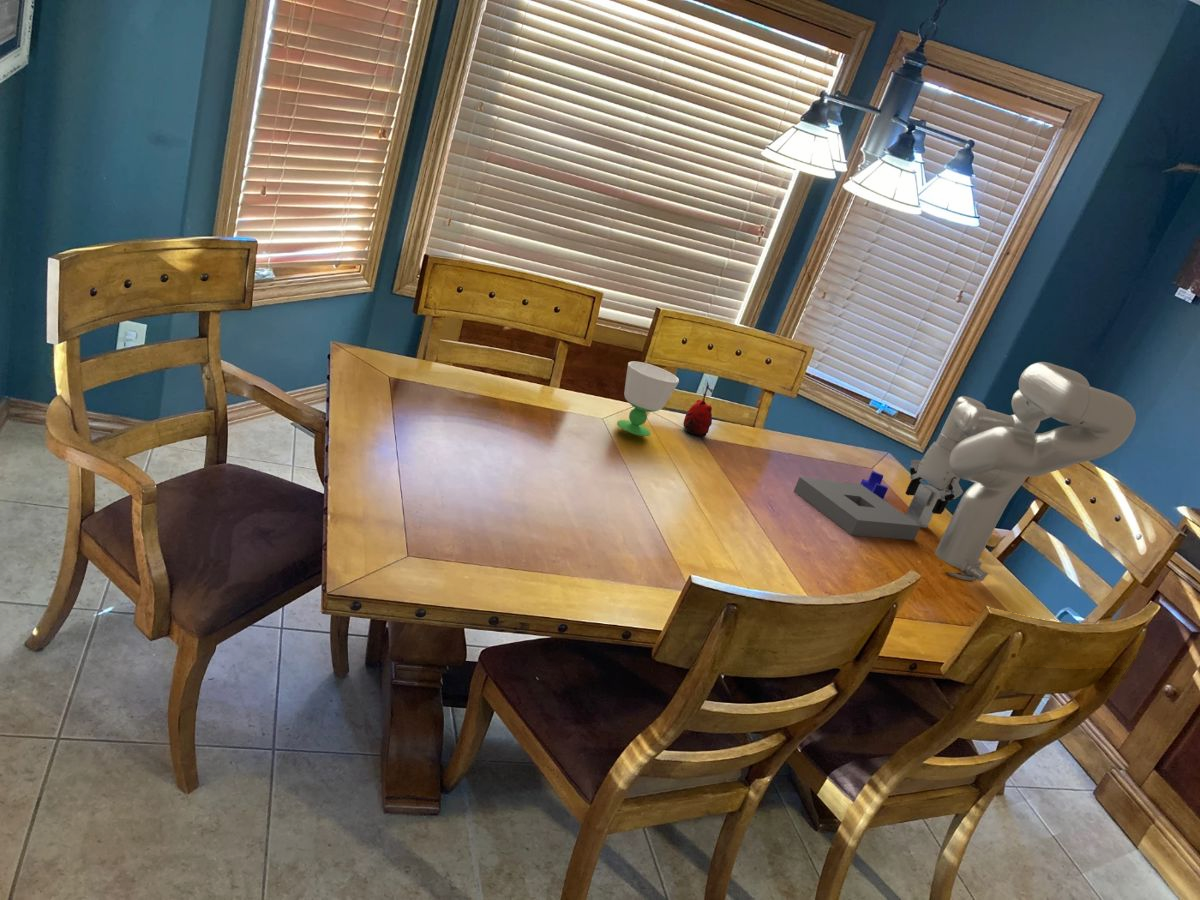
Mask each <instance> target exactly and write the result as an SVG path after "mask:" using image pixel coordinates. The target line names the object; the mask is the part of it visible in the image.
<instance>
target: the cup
mask: <svg viewBox="0 0 1200 900" xmlns="http://www.w3.org/2000/svg"><path fill="white" fill-rule="evenodd" d="M625 376H626V377H625V385H624V393H623V394H624V398H625V400H626V401H627V403H629V405H631V406H632V407H633V408H632V409H631V410H630V412H629V415H628V418H629V420H617V423H616V424H617V425H618V427H619V428H620V429H622V430H624V431H626V432H627V433H629V434H633V435H636V436H641V437H648V436H650V435H651V431H650V430H649V429H648V428H646V427H645V426H644V425H643V424H645V422H646V421H647V419H648V418H647V416H648V415H647V413H648V412H649V413H651V412H655V413H656V412H658V411H660V410H662V409H663V408H665V406H666V404H667V403H668V401H669V399H670V397H671V396H672V395H673V393H674V391H675V390H676V387H677V386H678V384H679V383H680V379H679V377H677V376H676V375H675V374H674V373H671V372H670V371H669V370H666V369H663V368H661V367H659V366H656V365H653V364H650V363H647V362H642V361H634V360H632V361H629V362H627V370H626V375H625Z"/></svg>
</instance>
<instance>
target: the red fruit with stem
mask: <svg viewBox="0 0 1200 900" xmlns="http://www.w3.org/2000/svg"><path fill="white" fill-rule="evenodd" d="M708 390H709V392H710V393H712V394H713V392H714V389H712V388H710V385H709V381H707V383H706V386H705V391H704V393H703V398H702V399H697V400H696V402H695V403H694V404H692V405H691V406H690V408H689V409H688V410H687V412H686V414H685V415H684V419H683V422H682V423H683V428H684V430H685V431H686V432H688V433H689V434H692V433H693V434H692V435H694V434H696V436H698V435H699V436H698V437H706V436H707V434H708V433H709V430H710V427H711V426H712V424H713V417H712V416H713V415H712V410H713V408H712V406H711V405H709V404H708V403H706V401H705V400H706V396H707V392H708Z"/></svg>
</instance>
